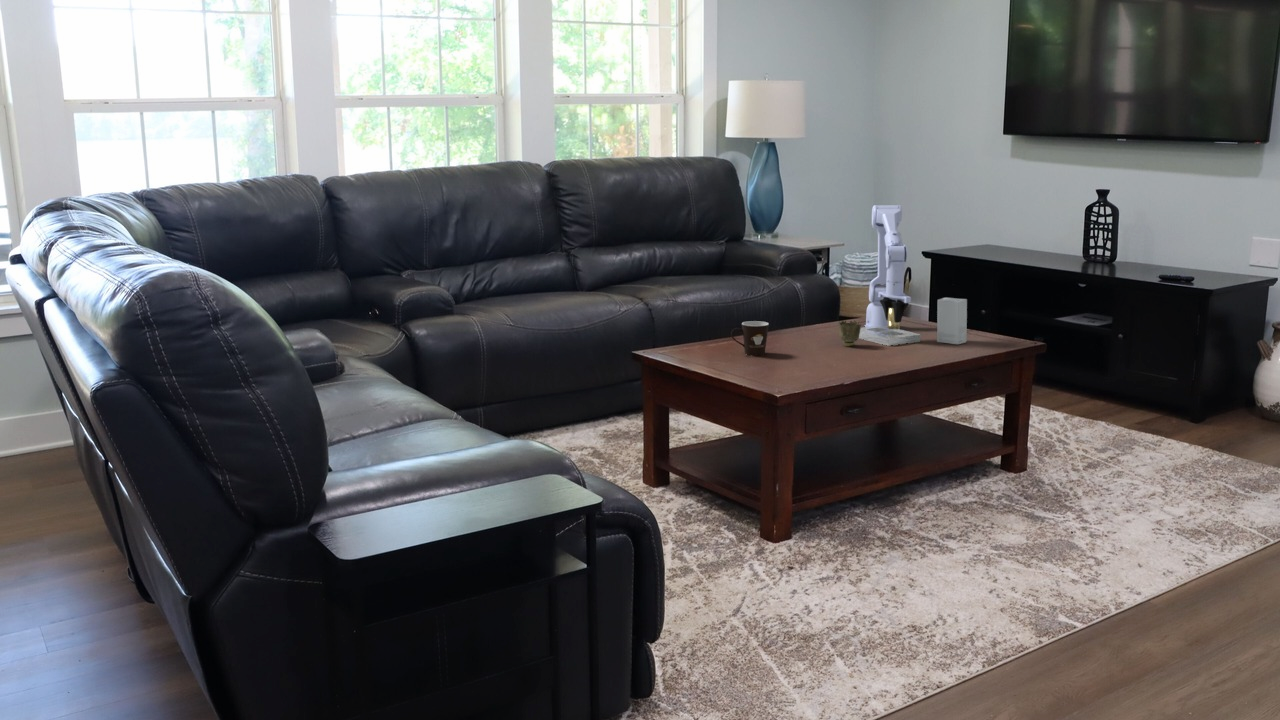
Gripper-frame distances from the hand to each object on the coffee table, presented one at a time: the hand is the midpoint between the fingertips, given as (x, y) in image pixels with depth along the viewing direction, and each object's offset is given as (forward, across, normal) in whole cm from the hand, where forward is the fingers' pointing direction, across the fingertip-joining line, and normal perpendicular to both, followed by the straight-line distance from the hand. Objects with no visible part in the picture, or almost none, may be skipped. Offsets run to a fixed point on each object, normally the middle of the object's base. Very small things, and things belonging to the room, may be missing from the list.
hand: (893, 321), depth 371 cm
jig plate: (+7, +4, 0) cm, 8 cm away
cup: (+7, 0, +18) cm, 19 cm away
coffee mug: (+7, +6, +53) cm, 54 cm away
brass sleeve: (+2, 0, 0) cm, 2 cm away
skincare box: (+7, -11, -16) cm, 21 cm away
